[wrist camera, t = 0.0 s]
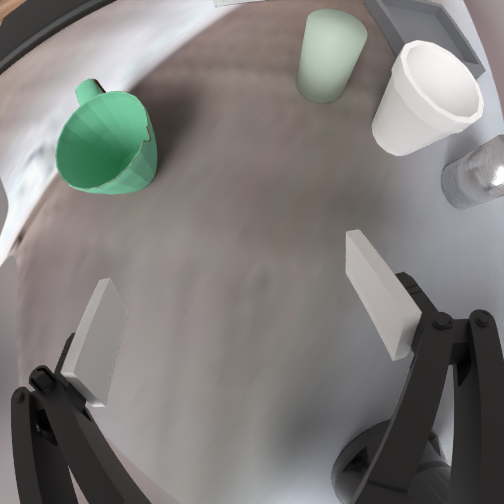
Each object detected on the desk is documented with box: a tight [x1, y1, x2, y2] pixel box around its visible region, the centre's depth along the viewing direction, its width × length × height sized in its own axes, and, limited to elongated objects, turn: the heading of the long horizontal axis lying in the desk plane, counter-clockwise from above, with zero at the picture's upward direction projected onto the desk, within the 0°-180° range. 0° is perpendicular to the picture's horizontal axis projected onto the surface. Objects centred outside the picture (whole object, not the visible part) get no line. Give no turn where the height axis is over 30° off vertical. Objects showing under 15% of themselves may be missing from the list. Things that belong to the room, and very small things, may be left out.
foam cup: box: [372, 40, 484, 156], centre depth 25 cm, size 10×9×13 cm
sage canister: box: [296, 9, 367, 104], centre depth 27 cm, size 6×6×11 cm
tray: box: [363, 0, 486, 80], centre depth 31 cm, size 16×16×4 cm
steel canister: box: [441, 135, 504, 209], centre depth 26 cm, size 6×6×11 cm
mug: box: [55, 79, 157, 194], centre depth 27 cm, size 15×10×10 cm
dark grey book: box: [0, 0, 116, 74], centre depth 34 cm, size 33×4×24 cm
